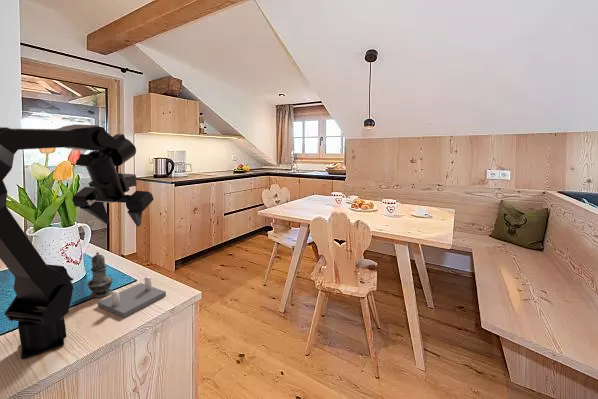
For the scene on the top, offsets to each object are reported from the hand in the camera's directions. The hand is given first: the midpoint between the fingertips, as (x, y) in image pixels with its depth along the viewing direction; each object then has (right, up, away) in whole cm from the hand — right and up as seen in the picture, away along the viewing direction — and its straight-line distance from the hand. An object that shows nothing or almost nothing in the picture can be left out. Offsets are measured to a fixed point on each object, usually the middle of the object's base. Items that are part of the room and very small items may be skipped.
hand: (123, 224), depth 82 cm
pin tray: (+5, -20, -4) cm, 21 cm away
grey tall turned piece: (-5, -19, -1) cm, 20 cm away
